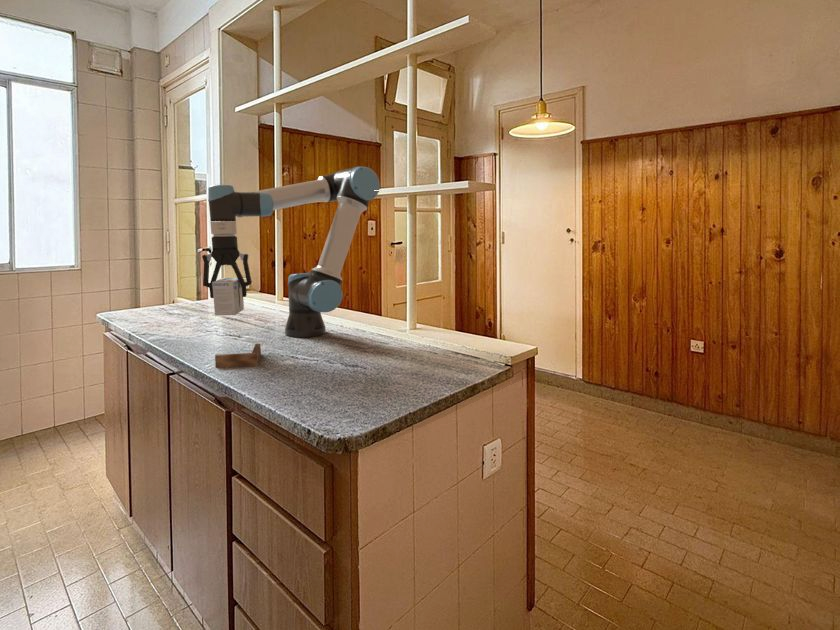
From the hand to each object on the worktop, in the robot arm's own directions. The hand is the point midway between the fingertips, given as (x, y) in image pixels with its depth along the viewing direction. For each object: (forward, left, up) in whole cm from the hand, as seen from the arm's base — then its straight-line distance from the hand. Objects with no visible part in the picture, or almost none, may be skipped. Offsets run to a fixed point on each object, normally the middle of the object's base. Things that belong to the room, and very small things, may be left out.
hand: (229, 307), depth 166 cm
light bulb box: (0, 0, -2) cm, 2 cm away
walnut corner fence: (-4, +13, -14) cm, 20 cm away
